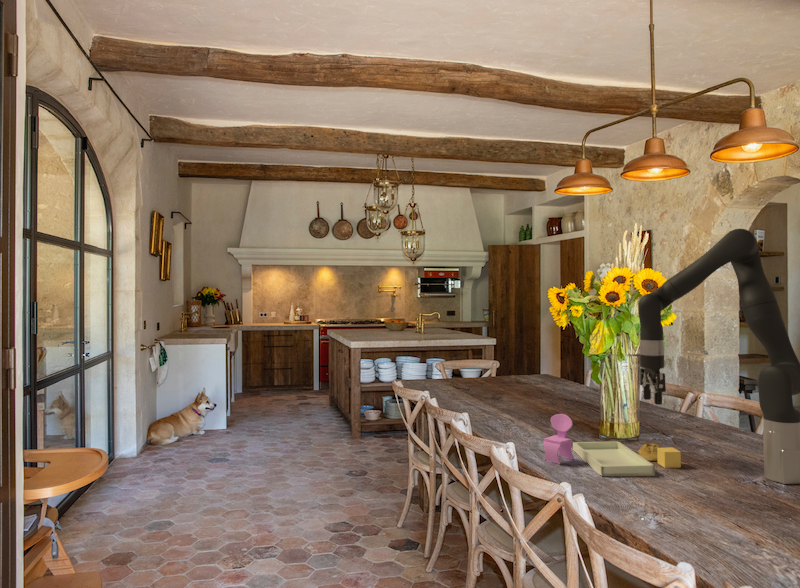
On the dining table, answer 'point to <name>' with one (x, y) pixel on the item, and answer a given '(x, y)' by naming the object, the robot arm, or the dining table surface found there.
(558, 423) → the toy chair
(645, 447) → the fossil
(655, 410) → the dining table surface
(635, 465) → the tray
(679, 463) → the block
